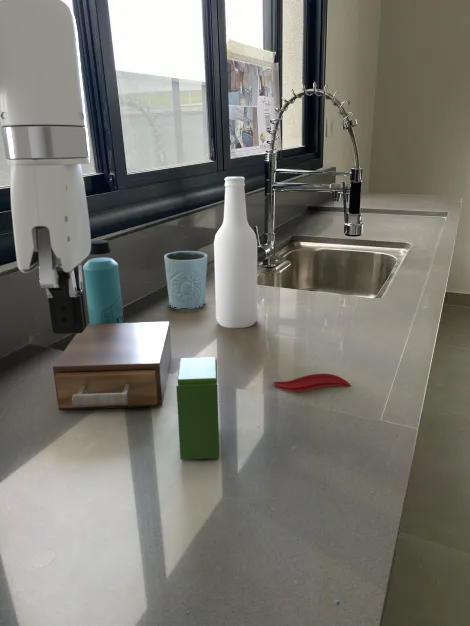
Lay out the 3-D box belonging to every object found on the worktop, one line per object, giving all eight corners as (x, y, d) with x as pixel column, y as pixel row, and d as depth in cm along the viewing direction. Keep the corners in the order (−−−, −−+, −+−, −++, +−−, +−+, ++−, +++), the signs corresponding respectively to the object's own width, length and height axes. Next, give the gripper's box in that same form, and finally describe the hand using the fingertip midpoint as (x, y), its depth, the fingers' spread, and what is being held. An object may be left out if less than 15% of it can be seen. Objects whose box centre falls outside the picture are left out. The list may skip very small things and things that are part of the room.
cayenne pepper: (271, 390, 76) (271, 378, 75) (274, 377, 80) (274, 366, 80) (351, 395, 74) (352, 383, 73) (350, 381, 78) (350, 370, 78)
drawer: (153, 421, 66) (150, 388, 64) (49, 425, 65) (44, 391, 64) (166, 358, 86) (165, 331, 84) (87, 360, 85) (84, 334, 84)
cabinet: (162, 406, 72) (159, 363, 69) (58, 410, 71) (52, 366, 69) (171, 357, 88) (169, 321, 86) (87, 360, 88) (83, 324, 86)
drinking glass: (186, 296, 126) (183, 249, 122) (217, 302, 120) (216, 253, 116) (157, 306, 118) (154, 256, 114) (190, 313, 112) (187, 261, 109)
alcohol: (248, 331, 101) (247, 178, 91) (209, 326, 104) (204, 178, 94) (262, 318, 108) (263, 176, 99) (225, 313, 112) (222, 175, 102)
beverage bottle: (122, 351, 92) (112, 243, 85) (86, 351, 92) (74, 244, 85) (130, 338, 98) (121, 237, 91) (96, 338, 98) (85, 237, 92)
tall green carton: (180, 462, 59) (176, 382, 55) (183, 428, 66) (180, 355, 62) (219, 461, 59) (217, 381, 55) (218, 427, 66) (216, 354, 63)
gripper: (33, 149, 54) (55, 310, 60) (-30, 148, 40) (7, 360, 45) (103, 148, 54) (118, 308, 60) (66, 147, 40) (90, 357, 46)
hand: (70, 330), depth 53 cm, fingers closed
